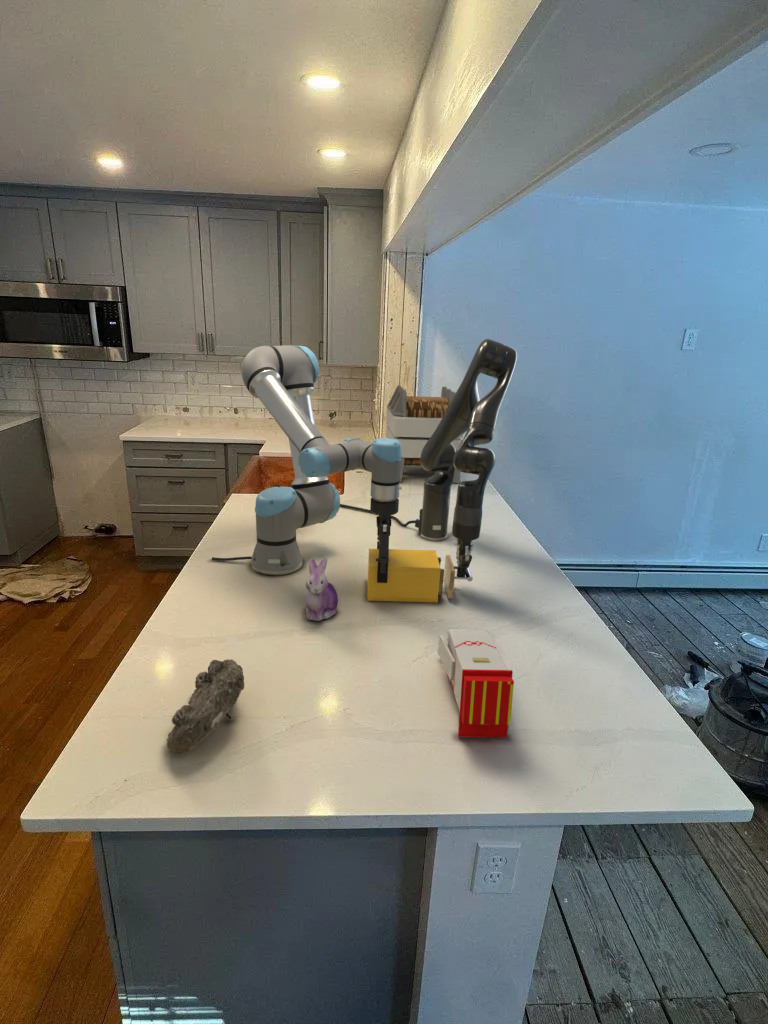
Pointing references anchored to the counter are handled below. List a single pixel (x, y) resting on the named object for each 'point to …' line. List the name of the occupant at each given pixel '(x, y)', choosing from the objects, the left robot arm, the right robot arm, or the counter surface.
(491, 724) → the toy
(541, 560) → the counter surface
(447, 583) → the drawer
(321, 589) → the figurine
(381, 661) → the counter surface
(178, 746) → the fossil
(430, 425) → the grey crate
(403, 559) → the cabinet
